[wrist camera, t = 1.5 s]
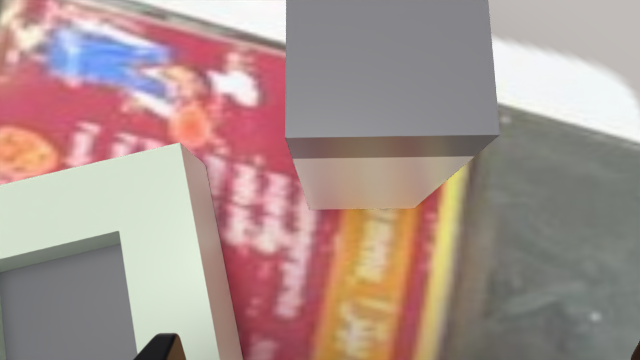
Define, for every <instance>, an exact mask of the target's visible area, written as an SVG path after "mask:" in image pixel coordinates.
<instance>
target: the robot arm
mask: <svg viewBox="0 0 640 360" xmlns="http://www.w3.org/2000/svg"><path fill="white" fill-rule="evenodd" d="M133 360H186V356H185V353H184V349H183V346H182V342H181V339H180V336H179V335H178V334H177V333H158V334H157V335H155V336H154V337H153V338H152V339H151V340H150V341H149V342H148V343H147V345H146V346H145V347H144V348H143V349H142V350H141V351H140V352H139V353H138V355H137V356H136V357H135V358H134V359H133ZM631 360H640V341H639V343H638V345H637V347H636V349H635V351H634V352H633V354H632V356H631Z"/></svg>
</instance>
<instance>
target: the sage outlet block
mask: <svg viewBox="0 0 640 360" xmlns="http://www.w3.org/2000/svg"><path fill="white" fill-rule="evenodd" d="M158 333H177V334H178V335H179V336H180V339H181V342H182V346H183V349H184V353H185V356H186V360H243V356H242V351H241V346H240V341H239V336H238V331H237V325H236V320H235V315H234V310H233V305H232V300H231V294H230V289H229V284H228V279H227V274H226V269H225V263H224V258H223V253H222V248H221V243H220V238H219V232H218V227H217V222H216V217H215V212H214V207H213V201H212V196H211V191H210V186H209V181H208V176H207V170H206V165H205V164H204V163H202V162H201V161H200V160H199V159H198V158H197V157H196V156H194V155H193V154H192V153H191V152H190V151H189V150H188V149H187V148H185V147H184V146H183V145H182V144H181V143H176V144H172V145H168V146H163V147H159V148H155V149H151V150H147V151H142V152H138V153H134V154H130V155H125V156H121V157H117V158H113V159H108V160H104V161H100V162H96V163H91V164H87V165H83V166H79V167H74V168H70V169H66V170H62V171H58V172H53V173H49V174H45V175H41V176H36V177H32V178H28V179H24V180H19V181H15V182H11V183H7V184H2V185H0V360H133V359H134V358H135V357H136V356H137V355H138V353H139V352H140V351H141V350H142V349H143V348H144V347H145V346H146V345H147V343H148V342H149V341H150V340H151V339H152V338H153V337H154V336H155V335H157V334H158Z"/></svg>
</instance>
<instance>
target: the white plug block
mask: <svg viewBox="0 0 640 360" xmlns="http://www.w3.org/2000/svg"><path fill="white" fill-rule="evenodd" d="M499 135H500V130H499V119H498V108H497V96H496V85H495V73H494V62H493V51H492V39H491V28H490V17H489V5H488V0H286V112H285V138H286V141H287V144H288V147H289V150H290V153H291V156H292V159H293V162H294V165H295V168H296V171H297V174H298V177H299V180H300V183H301V186H302V189H303V192H304V195H305V198H306V201H307V204H308V207H309V210H330V209H414V208H415V207H416V206H417V205H418V204H419V203H421V202H422V201H423V200H424V199H425V198H426V197H428V196H429V195H430V194H431V193H432V192H433V191H435V190H436V189H437V188H438V187H439V186H440V185H442V184H443V183H444V182H445V181H446V180H447V179H449V178H450V177H451V176H452V175H453V174H454V173H456V172H457V171H458V170H459V169H460V168H462V167H463V166H464V165H465V164H466V163H467V162H469V161H470V160H471V159H472V158H473V157H474V156H476V155H477V154H478V153H479V152H480V151H481V150H483V149H484V148H485V147H486V146H487V145H488V144H490V143H491V142H492V141H493V140H494V139H495V138H497V137H498V136H499Z"/></svg>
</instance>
